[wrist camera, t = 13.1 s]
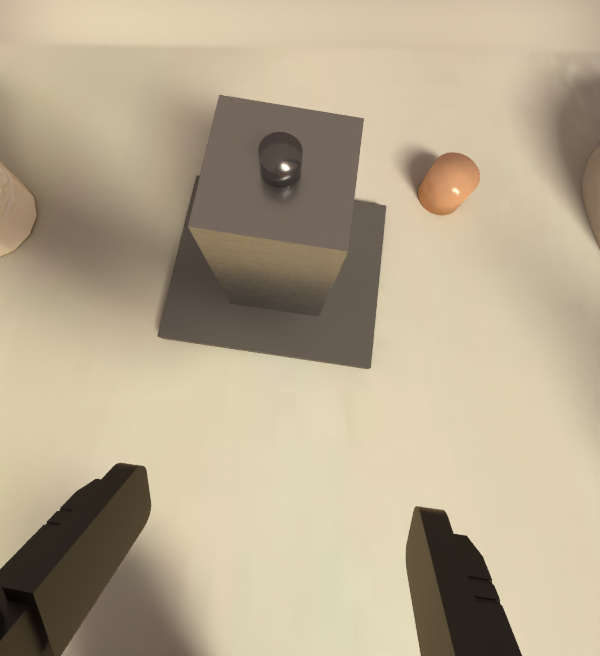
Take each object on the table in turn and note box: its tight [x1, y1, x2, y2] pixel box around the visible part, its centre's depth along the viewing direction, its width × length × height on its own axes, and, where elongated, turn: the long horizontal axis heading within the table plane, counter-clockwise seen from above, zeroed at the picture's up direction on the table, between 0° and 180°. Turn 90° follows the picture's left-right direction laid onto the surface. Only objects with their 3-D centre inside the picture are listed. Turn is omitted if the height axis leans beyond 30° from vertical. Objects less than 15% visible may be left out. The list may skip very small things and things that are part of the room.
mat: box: [158, 176, 386, 369], centre depth 23 cm, size 14×12×1 cm
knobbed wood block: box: [188, 95, 364, 317], centre depth 17 cm, size 6×6×11 cm
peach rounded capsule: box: [418, 153, 480, 215], centre depth 24 cm, size 3×3×2 cm
